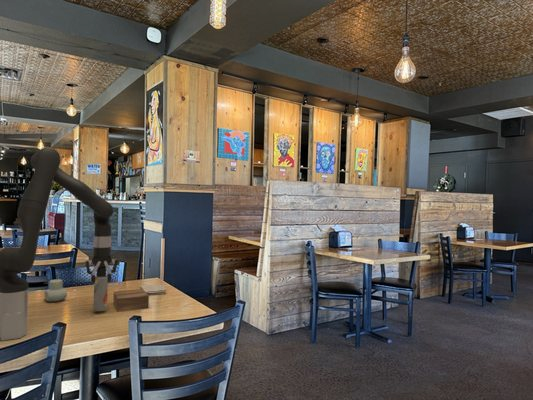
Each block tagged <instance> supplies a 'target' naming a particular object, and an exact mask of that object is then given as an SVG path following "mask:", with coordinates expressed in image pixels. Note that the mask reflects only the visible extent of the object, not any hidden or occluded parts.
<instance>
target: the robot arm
mask: <svg viewBox="0 0 533 400" xmlns="http://www.w3.org/2000/svg"><path fill="white" fill-rule="evenodd" d="M30 164H31V167H32V168H33V169H34V172H33V175H32V177H31V180H30V182H29V183H28V184H27V186H26V188H25V190H24V191H23V194H22V196H21V198H20V202H19V205H18V207H17V211H16V212H17V213H16V216H17V219H18V222H19V225H20V228H21V231H22V240H21V245H20V247H11V246H8V247H4V248H2V249H0V341H2V342H3V341H9V340H17V339H21V338H22V337H24V336H25V337H26V335H27V334H28V311H29V310H28V308H29V306H28V305H29V282H28V281H27V280H26V279H24V278H22V277H21V276H19V275H18V273H22V274H23V273H28V272H29V271H30V270H31V269H32V268H33V266H34V264H35V260H36V254H37V250H38V249H37V248H38V242H39V236H40V232H41V228H42V224H43V221H44V218H45V215H46V211H47V207H48V205H49V204H48V202H49V201H50V199H49V198H50V196H51V192H52V186H53V182H54V183H56V184H57V185H59V186H60V187H62V188H64V190H66V191H67V192H68V193H69V194H71V195H72V196H74V198H76V199H77V200H78V201H79V202H80V203H82V204H83V205H85V206H86V207H88V208H90V209H91V210H92V211H93V222H94V235H93V236H94V237H93V244H92V246H93V249H92V253H93V254H92V259H89V260H85V261H84V262H85V268H86V273H87V274H88V275H90V280H91V283H92V284H94V283H95V277H96V273H97V269H98V268H102V267H106V272H107V276H108V283H110V282H111V281H112V274H114V273H116V272H117V269H118V262H119V260H118V259H117V258H112V225H111V224H110V223H111V222H110V218H111V217H112V216H113V214H114V206H113V205H112V204H111V203H110V202H108V201H107V200H106V199H105V198H103V197H101V196H100V195H98V194H97V193H96V192H95V191H94V190H93V188H91V187H89V186H88V185H87V184H86V183H85V182H83V181H82V180H79V179H78V178H76V177H74V176H72V175H70V174H68V173H67V172H65V171H64V170H63V169H62V168H61V167H60V164H61V155H60V153H59V151H57V149H55V148H54V147H50V146H49V147H48V146H47V147H43V148H41V149H39V150H37V151H36V152H35V153H34V154H33V155H32V156H31V157H30ZM111 263H112V264H113V266H112V269H111V268H110V264H111ZM91 264H93V265H94V266H93V268H92V270H90V269H91V268H90V266H91Z"/></svg>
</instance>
